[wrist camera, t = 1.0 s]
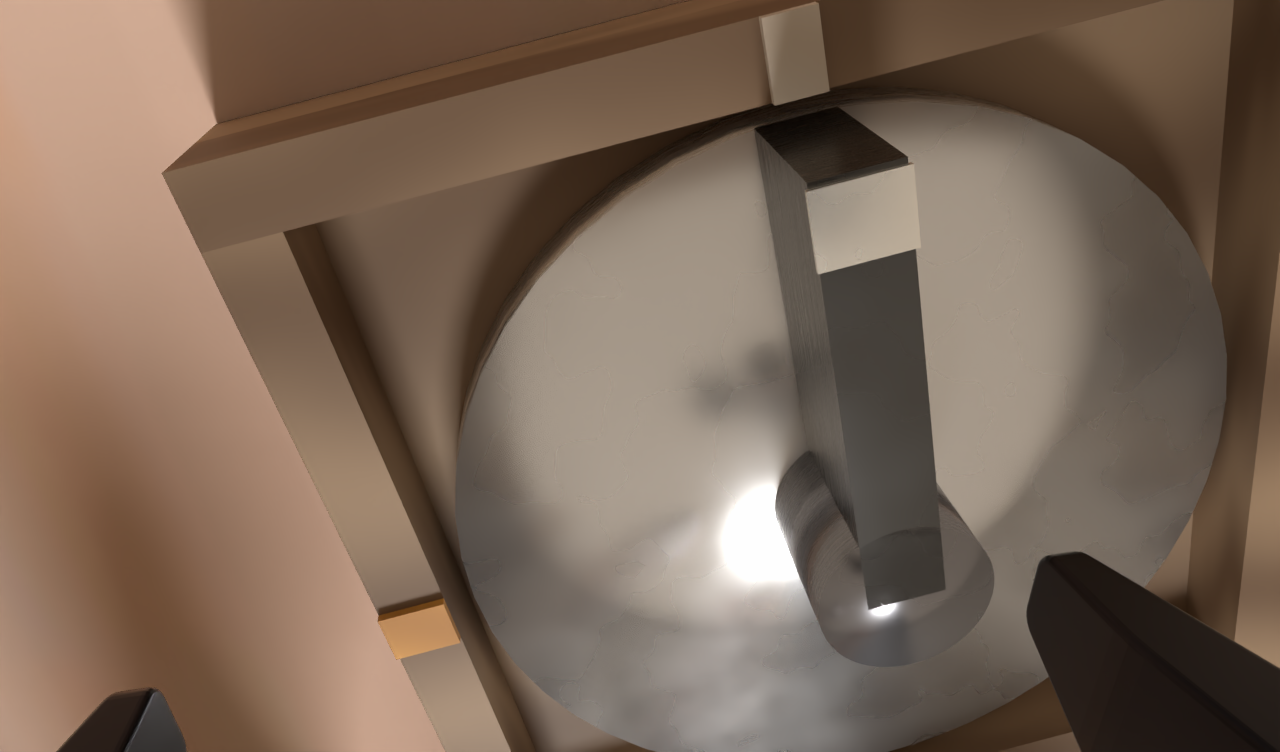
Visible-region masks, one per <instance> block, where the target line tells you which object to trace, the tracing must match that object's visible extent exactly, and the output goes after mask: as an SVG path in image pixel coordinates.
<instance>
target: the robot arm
mask: <svg viewBox="0 0 1280 752" xmlns="http://www.w3.org/2000/svg"><path fill="white" fill-rule="evenodd" d="M1026 618H1027V624H1028V628H1029V631H1030V634H1031V636H1032V639H1033V641H1034V643H1035V646H1036V648H1037V650H1038V653H1039V655H1040V657H1041V660H1042V662H1043V664H1044V667H1045V669H1046V671H1047V674H1048V676H1049V678H1050V681H1051V683H1052V685H1053V688H1054V690H1055V692H1056V695H1057V697H1058V699H1059V702H1060V704H1061V706H1062V709H1063V711H1064V713H1065V716H1066V718H1067V721H1068V723H1069V725H1070V728H1071V730H1072V732H1073V735H1074V737H1075V739H1076V742H1077V744H1078V746H1079V748H1080V750H1081V752H1280V668H1279V667H1277V666H1275V665H1274V664H1272V663H1270V662H1269V661H1267V660H1265V659H1264V658H1262V657H1260V656H1259V655H1257V654H1255V653H1253V652H1252V651H1250V650H1248V649H1247V648H1245V647H1243V646H1242V645H1240V644H1238V643H1237V642H1235V641H1233V640H1231V639H1230V638H1228V637H1226V636H1225V635H1223V634H1221V633H1220V632H1218V631H1216V630H1215V629H1213V628H1211V627H1210V626H1208V625H1206V624H1204V623H1203V622H1201V621H1199V620H1198V619H1196V618H1194V617H1193V616H1191V615H1189V614H1188V613H1186V612H1184V611H1183V610H1181V609H1179V608H1177V607H1176V606H1174V605H1172V604H1171V603H1169V602H1167V601H1166V600H1164V599H1162V598H1161V597H1159V596H1157V595H1155V594H1154V593H1152V592H1150V591H1149V590H1147V589H1145V588H1144V587H1142V586H1140V585H1139V584H1137V583H1135V582H1134V581H1132V580H1130V579H1128V578H1127V577H1125V576H1123V575H1122V574H1120V573H1118V572H1117V571H1115V570H1113V569H1112V568H1110V567H1108V566H1107V565H1105V564H1103V563H1101V562H1100V561H1098V560H1096V559H1095V558H1093V557H1091V556H1090V555H1088V554H1085V553H1083V552H1079V551H1071V552H1065V553H1058V554H1051V555H1047V556H1044V557H1043V558H1042V559H1041V560H1040V561H1039V563H1038V566H1037V570H1036V574H1035V578H1034V581H1033V585H1032V589H1031V593H1030V597H1029V601H1028V604H1027V610H1026ZM56 752H187V751H186V744H185V740H184V737H183V735H182V733H181V731H180V729H179V727H178V724H177V722H176V720H175V718H174V716H173V714H172V712H171V710H170V708H169V706H168V704H167V701H166V699H165V697H164V696H163V694H162V693H161V691H159V690H158V689H156V688H151V687H148V688H141V689H135V690H128V691H121V692H117V693H114V694H112V695H110V696H109V697H107V698H106V699H105V700H104V701H103V702H102V703H101V704H100V705H99V706H98V707H97V708H96V709H95V710H94V711H93V712H92V714H91V715H90V716H89V717H88V718H87V719H86V720H85V721H84V722H83V723H82V724H81V725H80V727H79V728H78V729H77V730H76V731H75V732H74V733H73V734H72V735H71V736H70V737H69V738H68V739H67V741H66V742H65V743H64V744H63V745H62V746H61V747H60V748H59V749H58V750H57V751H56Z"/></svg>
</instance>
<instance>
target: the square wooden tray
mask: <svg viewBox="0 0 1280 752" xmlns="http://www.w3.org/2000/svg"><path fill="white" fill-rule="evenodd" d="M874 87H903V88H915V89H927V90H939V91H948V92H952V93H957V94H961V95H965V96H969V97H974V98H978V99H982V100H986V101H991V102H995V103H999V104H1001V105H1004V106H1006V107H1009V108H1011V109H1013V110H1016V111H1018V112H1021V113H1023V114H1026V115H1028V116H1031V117H1033V118H1035V119H1038V120H1040V121H1043V122H1045V123H1047V124H1049V125H1052V126H1054V127H1056V128H1058V129H1060V130H1062V131H1064V132H1066V133H1069V134H1071V135H1073V136H1075V137H1077V138H1079V139H1081V140H1083V141H1084V142H1086V143H1088V144H1089V145H1091V146H1093V147H1094V148H1096V149H1097V150H1099V151H1101V152H1102V153H1104V154H1105V155H1107V156H1109V157H1110V158H1112V159H1114V160H1115V161H1117V162H1118V163H1120V164H1122V165H1123V166H1124V167H1126V168H1127V169H1128V170H1129V171H1130V172H1131V173H1132V174H1133V175H1135V176H1136V177H1137V178H1138V179H1139V180H1140V181H1141V182H1142V183H1144V184H1145V185H1146V186H1147V187H1148V188H1149V189H1150V190H1151V191H1153V192H1154V193H1155V194H1156V195H1157V196H1158V197H1159V198H1160V199H1161V200H1162V202H1163V203H1164V204H1165V206H1166V207H1167V208H1168V209H1169V211H1170V212H1171V213H1172V214H1173V216H1174V217H1175V218H1176V220H1177V221H1178V222H1179V223H1180V225H1181V226H1182V227H1183V229H1184V230H1185V231H1186V232H1187V234H1188V236H1189V238H1190V239H1191V241H1192V243H1193V245H1194V247H1195V249H1196V251H1197V253H1198V255H1199V257H1200V258H1201V260H1202V262H1203V264H1204V266H1205V268H1206V270H1207V272H1208V274H1209V278H1210V281H1211V284H1212V287H1213V290H1214V293H1215V296H1216V300H1217V303H1218V306H1219V309H1220V312H1221V317H1222V325H1223V332H1224V339H1225V346H1226V353H1227V379H1226V402H1225V408H1224V414H1223V420H1222V426H1221V432H1220V438H1219V443H1218V446H1217V449H1216V452H1215V456H1214V459H1213V462H1212V465H1211V469H1210V472H1209V475H1208V478H1207V482H1206V484H1205V486H1204V488H1203V490H1202V493H1201V495H1200V497H1199V499H1198V502H1197V504H1196V506H1195V508H1194V510H1193V513H1192V515H1191V517H1190V519H1189V521H1188V523H1187V525H1186V526H1185V528H1184V530H1183V531H1182V533H1181V535H1180V536H1179V538H1178V540H1177V541H1176V543H1175V545H1174V546H1173V548H1172V550H1171V552H1170V553H1169V555H1168V557H1167V558H1166V560H1165V561H1164V562H1163V564H1162V565H1161V566H1160V568H1159V569H1158V570H1157V572H1156V573H1155V574H1154V576H1153V577H1152V578H1151V580H1150V581H1149V582H1148V584H1147V585H1146V586H1145V589H1147V590H1149V591H1150V592H1152V593H1154V594H1155V595H1157V596H1159V597H1161V598H1162V599H1164V600H1166V601H1167V602H1169V603H1171V604H1172V605H1174V606H1176V607H1177V608H1179V609H1181V610H1183V611H1184V612H1186V613H1188V614H1189V615H1191V616H1193V617H1194V618H1196V619H1198V620H1199V621H1201V622H1203V623H1204V624H1206V625H1208V626H1210V627H1211V628H1213V629H1215V630H1216V631H1218V632H1220V633H1221V634H1223V635H1225V636H1226V637H1228V638H1230V639H1231V640H1233V641H1235V642H1237V643H1238V644H1240V645H1242V646H1243V647H1245V648H1247V649H1248V650H1250V651H1252V652H1253V653H1255V654H1257V655H1259V656H1260V657H1262V658H1264V659H1265V660H1267V661H1269V662H1270V663H1272V664H1274V665H1275V666H1277V667H1279V668H1280V0H689V1H685V2H681V3H677V4H674V5H670V6H666V7H662V8H658V9H654V10H651V11H647V12H643V13H639V14H635V15H632V16H628V17H624V18H620V19H616V20H613V21H609V22H605V23H601V24H597V25H593V26H590V27H586V28H582V29H578V30H574V31H571V32H567V33H563V34H559V35H555V36H551V37H548V38H544V39H540V40H536V41H532V42H529V43H525V44H521V45H517V46H513V47H510V48H506V49H502V50H498V51H494V52H490V53H487V54H483V55H479V56H475V57H471V58H468V59H464V60H460V61H456V62H452V63H449V64H445V65H441V66H437V67H433V68H429V69H426V70H422V71H418V72H414V73H410V74H407V75H403V76H399V77H395V78H391V79H388V80H384V81H380V82H376V83H372V84H368V85H365V86H361V87H357V88H353V89H349V90H346V91H342V92H338V93H334V94H330V95H327V96H323V97H319V98H315V99H311V100H307V101H304V102H300V103H296V104H292V105H288V106H285V107H281V108H277V109H273V110H269V111H265V112H262V113H258V114H254V115H250V116H246V117H243V118H239V119H235V120H231V121H227V122H224V123H220V124H216V125H215V126H214V127H213V128H212V129H210V130H209V131H208V132H207V133H206V134H205V135H204V136H203V137H202V138H200V139H199V140H198V141H197V142H196V143H195V144H194V145H193V146H192V147H190V148H189V149H188V150H187V151H186V152H185V153H184V154H183V155H182V156H180V157H179V158H178V159H177V160H176V161H175V162H174V163H173V164H171V165H170V166H169V167H168V168H167V169H166V170H165V171H164V172H163V173H162V175H163V177H164V179H165V181H166V183H167V185H168V187H169V189H170V191H171V193H172V195H173V197H174V199H175V201H176V203H177V205H178V207H179V209H180V211H181V213H182V215H183V217H184V220H185V222H186V224H187V226H188V228H189V230H190V232H191V234H192V236H193V238H194V240H195V242H196V244H197V246H198V248H199V250H200V252H201V254H202V256H203V258H204V260H205V262H206V264H207V266H208V268H209V270H210V273H211V275H212V277H213V279H214V281H215V283H216V285H217V287H218V289H219V291H220V293H221V295H222V297H223V299H224V301H225V303H226V305H227V307H228V309H229V311H230V313H231V315H232V317H233V319H234V321H235V323H236V326H237V328H238V330H239V332H240V334H241V336H242V338H243V340H244V342H245V344H246V346H247V348H248V350H249V352H250V354H251V356H252V358H253V360H254V362H255V364H256V366H257V368H258V370H259V372H260V374H261V376H262V379H263V381H264V383H265V385H266V387H267V389H268V391H269V393H270V395H271V397H272V399H273V401H274V403H275V405H276V407H277V409H278V411H279V413H280V415H281V417H282V419H283V421H284V423H285V425H286V427H287V429H288V432H289V434H290V436H291V438H292V440H293V442H294V444H295V446H296V448H297V450H298V452H299V454H300V456H301V458H302V460H303V462H304V464H305V466H306V468H307V470H308V472H309V474H310V476H311V478H312V480H313V482H314V485H315V487H316V489H317V491H318V493H319V495H320V497H321V499H322V501H323V503H324V505H325V507H326V509H327V511H328V513H329V515H330V517H331V519H332V521H333V523H334V525H335V527H336V529H337V531H338V533H339V535H340V538H341V540H342V542H343V544H344V546H345V548H346V550H347V552H348V554H349V556H350V558H351V560H352V562H353V564H354V566H355V568H356V570H357V572H358V574H359V576H360V578H361V580H362V582H363V584H364V586H365V588H366V591H367V593H368V595H369V597H370V599H371V601H372V603H373V605H374V607H375V609H376V611H377V613H378V615H379V617H378V623H379V625H380V627H381V629H382V631H383V633H384V635H385V637H386V639H387V642H388V644H389V646H390V648H391V650H392V652H393V654H394V656H395V658H396V660H397V659H400V660H401V662H402V664H403V666H404V668H405V670H406V672H407V674H408V676H409V678H410V680H411V682H412V684H413V686H414V688H415V690H416V692H417V694H418V696H419V699H420V701H421V703H422V705H423V707H424V709H425V711H426V713H427V715H428V717H429V719H430V721H431V723H432V725H433V727H434V729H435V731H436V733H437V735H438V737H439V739H440V741H441V743H442V745H443V747H444V749H445V752H656V751H652V750H648V749H645V748H642V747H640V746H637V745H635V744H632V743H630V742H627V741H625V740H622V739H620V738H617V737H615V736H613V735H610V734H608V733H606V732H604V731H602V730H601V729H599V728H597V727H595V726H593V725H592V724H590V723H588V722H586V721H584V720H583V719H581V718H579V717H577V716H575V715H574V714H573V713H571V712H570V711H568V710H567V709H566V708H564V707H563V706H562V705H560V704H559V703H558V702H556V701H555V700H554V699H552V698H551V697H550V696H548V695H547V694H546V693H544V692H543V691H542V690H541V689H540V688H539V687H538V686H537V685H536V684H535V683H534V682H533V681H532V680H531V679H530V678H529V677H528V676H527V675H526V674H525V673H524V672H523V671H522V670H521V669H520V668H519V667H518V666H517V665H516V664H515V662H514V661H513V660H512V658H511V657H510V656H509V654H508V653H507V652H506V650H505V649H504V648H503V646H502V645H501V643H500V642H499V641H498V639H497V638H496V637H495V635H494V634H493V633H492V631H491V629H490V627H489V625H488V623H487V621H486V619H485V617H484V615H483V613H482V611H481V609H480V607H479V605H478V604H477V602H476V600H475V598H474V595H473V592H472V589H471V586H470V583H469V579H468V576H467V573H466V570H465V567H464V564H463V561H462V557H461V551H460V544H459V537H458V531H457V524H456V517H455V501H456V464H457V451H458V438H459V431H460V425H461V420H462V414H463V408H464V402H465V397H466V391H467V388H468V385H469V382H470V379H471V376H472V373H473V370H474V367H475V364H476V361H477V358H478V355H479V352H480V349H481V346H482V344H483V342H484V340H485V338H486V336H487V334H488V332H489V330H490V328H491V326H492V324H493V322H494V320H495V318H496V316H497V314H498V312H499V310H500V308H501V306H502V304H503V302H504V300H505V299H506V297H507V296H508V295H509V293H510V292H511V290H512V289H513V287H514V286H515V284H516V283H517V282H518V280H519V279H520V277H521V276H522V274H523V273H524V271H525V270H526V269H527V267H528V266H529V264H530V263H531V261H532V260H533V258H534V257H535V256H536V255H537V254H538V252H539V251H540V250H541V249H542V248H543V247H544V246H545V245H546V244H547V243H548V241H549V240H550V239H551V238H552V237H553V236H554V235H555V234H556V233H557V232H558V231H559V229H560V228H561V227H562V226H563V225H564V224H565V223H566V222H567V221H568V220H569V218H570V217H571V216H572V215H573V214H574V213H576V212H577V211H578V210H579V209H580V208H582V207H583V206H584V205H585V204H586V203H587V202H589V201H590V200H591V199H592V198H593V197H595V196H596V195H597V194H598V193H599V192H600V191H602V190H603V189H604V188H605V187H606V186H608V185H609V184H610V183H611V182H612V181H613V180H615V179H616V178H617V177H619V176H620V175H622V174H623V173H625V172H626V171H628V170H629V169H631V168H633V167H634V166H636V165H637V164H639V163H640V162H642V161H643V160H645V159H646V158H648V157H649V156H651V155H653V154H654V153H656V152H657V151H659V150H660V149H662V148H663V147H665V146H667V145H669V144H671V143H673V142H675V141H677V140H679V139H681V138H683V137H685V136H687V135H689V134H691V133H694V132H696V131H698V130H700V129H702V128H704V127H706V126H708V125H710V124H712V123H714V122H716V121H718V120H721V119H724V118H727V117H730V116H733V115H736V114H739V113H742V112H745V111H748V110H751V109H754V108H757V107H760V106H764V105H768V104H771V103H772V104H773V105H775V106H776V105H780V104H784V103H788V102H791V101H795V100H799V99H803V98H807V97H810V96H814V95H818V94H822V93H826V92H829V91H830V90H839V89H856V88H874ZM889 752H1081V750H1080V748H1079V746H1078V744H1077V742H1076V739H1075V737H1074V735H1073V732H1072V730H1071V728H1070V725H1069V723H1068V721H1067V718H1066V716H1065V713H1064V711H1063V709H1062V706H1061V704H1060V702H1059V699H1058V697H1057V695H1056V692H1055V690H1054V688H1053V685H1052V683H1051V681H1050V678H1049V677H1048V678H1046V679H1045V680H1044V681H1042V682H1040V683H1039V684H1037V685H1036V686H1034V687H1032V688H1031V689H1029V690H1028V691H1026V692H1024V693H1023V694H1021V695H1020V696H1018V697H1016V698H1015V699H1013V700H1011V701H1010V702H1008V703H1007V704H1005V705H1003V706H1001V707H999V708H997V709H995V710H993V711H991V712H989V713H987V714H985V715H983V716H981V717H979V718H977V719H975V720H973V721H971V722H969V723H967V724H965V725H962V726H960V727H957V728H955V729H953V730H950V731H948V732H945V733H943V734H940V735H938V736H935V737H933V738H930V739H928V740H925V741H921V742H918V743H915V744H912V745H909V746H905V747H902V748H899V749H896V750H893V751H889Z"/></svg>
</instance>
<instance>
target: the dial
mask: <svg viewBox="0 0 1280 752" xmlns="http://www.w3.org/2000/svg"><path fill="white" fill-rule="evenodd" d="M1226 379H1227V353H1226V346H1225V339H1224V332H1223V325H1222V317H1221V312H1220V309H1219V306H1218V303H1217V300H1216V296H1215V293H1214V290H1213V287H1212V284H1211V281H1210V278H1209V274H1208V272H1207V270H1206V268H1205V266H1204V264H1203V262H1202V260H1201V258H1200V257H1199V255H1198V253H1197V251H1196V249H1195V247H1194V245H1193V243H1192V241H1191V239H1190V238H1189V236H1188V234H1187V232H1186V231H1185V230H1184V229H1183V227H1182V226H1181V225H1180V223H1179V222H1178V221H1177V220H1176V218H1175V217H1174V216H1173V214H1172V213H1171V212H1170V211H1169V209H1168V208H1167V207H1166V206H1165V204H1164V203H1163V202H1162V200H1161V199H1160V198H1159V197H1158V196H1157V195H1156V194H1155V193H1154V192H1153V191H1151V190H1150V189H1149V188H1148V187H1147V186H1146V185H1145V184H1144V183H1142V182H1141V181H1140V180H1139V179H1138V178H1137V177H1136V176H1135V175H1133V174H1132V173H1131V172H1130V171H1129V170H1128V169H1127V168H1126V167H1124V166H1123V165H1122V164H1120V163H1118V162H1117V161H1115V160H1114V159H1112V158H1110V157H1109V156H1107V155H1105V154H1104V153H1102V152H1101V151H1099V150H1097V149H1096V148H1094V147H1093V146H1091V145H1089V144H1088V143H1086V142H1084V141H1083V140H1081V139H1079V138H1077V137H1075V136H1073V135H1071V134H1069V133H1066V132H1064V131H1062V130H1060V129H1058V128H1056V127H1054V126H1052V125H1049V124H1047V123H1045V122H1043V121H1040V120H1038V119H1035V118H1033V117H1031V116H1028V115H1026V114H1023V113H1021V112H1018V111H1016V110H1013V109H1011V108H1009V107H1006V106H1004V105H1001V104H999V103H995V102H991V101H986V100H982V99H978V98H974V97H969V96H965V95H961V94H957V93H952V92H948V91H939V90H927V89H915V88H903V87H874V88H856V89H839V90H830V91H829V92H826V93H822V94H818V95H814V96H810V97H807V98H803V99H799V100H795V101H791V102H788V103H784V104H780V105H776V106H775V105H773V104H772V103H771V104H768V105H764V106H760V107H757V108H754V109H751V110H748V111H745V112H742V113H739V114H736V115H733V116H730V117H727V118H724V119H721V120H718V121H716V122H714V123H712V124H710V125H708V126H706V127H704V128H702V129H700V130H698V131H696V132H694V133H691V134H689V135H687V136H685V137H683V138H681V139H679V140H677V141H675V142H673V143H671V144H669V145H667V146H665V147H663V148H662V149H660V150H659V151H657V152H656V153H654V154H653V155H651V156H649V157H648V158H646V159H645V160H643V161H642V162H640V163H639V164H637V165H636V166H634V167H633V168H631V169H629V170H628V171H626V172H625V173H623V174H622V175H620V176H619V177H617V178H616V179H615V180H613V181H612V182H611V183H610V184H609V185H608V186H606V187H605V188H604V189H603V190H602V191H600V192H599V193H598V194H597V195H596V196H595V197H593V198H592V199H591V200H590V201H589V202H587V203H586V204H585V205H584V206H583V207H582V208H580V209H579V210H578V211H577V212H576V213H574V214H573V215H572V216H571V217H570V218H569V220H568V221H567V222H566V223H565V224H564V225H563V226H562V227H561V228H560V229H559V231H558V232H557V233H556V234H555V235H554V236H553V237H552V238H551V239H550V240H549V241H548V243H547V244H546V245H545V246H544V247H543V248H542V249H541V250H540V251H539V252H538V254H537V255H536V256H535V257H534V258H533V260H532V261H531V263H530V264H529V266H528V267H527V269H526V270H525V271H524V273H523V274H522V276H521V277H520V279H519V280H518V282H517V283H516V284H515V286H514V287H513V289H512V290H511V292H510V293H509V295H508V296H507V297H506V299H505V300H504V302H503V304H502V306H501V308H500V310H499V312H498V314H497V316H496V318H495V320H494V322H493V324H492V326H491V328H490V330H489V332H488V334H487V336H486V338H485V340H484V342H483V344H482V346H481V349H480V352H479V355H478V358H477V361H476V364H475V367H474V370H473V373H472V376H471V379H470V382H469V385H468V388H467V391H466V397H465V402H464V408H463V414H462V420H461V425H460V431H459V438H458V451H457V464H456V501H455V517H456V524H457V531H458V537H459V544H460V551H461V557H462V561H463V564H464V567H465V570H466V573H467V576H468V579H469V583H470V586H471V589H472V592H473V595H474V598H475V600H476V602H477V604H478V605H479V607H480V609H481V611H482V613H483V615H484V617H485V619H486V621H487V623H488V625H489V627H490V629H491V631H492V633H493V634H494V635H495V637H496V638H497V639H498V641H499V642H500V643H501V645H502V646H503V648H504V649H505V650H506V652H507V653H508V654H509V656H510V657H511V658H512V660H513V661H514V662H515V664H516V665H517V666H518V667H519V668H520V669H521V670H522V671H523V672H524V673H525V674H526V675H527V676H528V677H529V678H530V679H531V680H532V681H533V682H534V683H535V684H536V685H537V686H538V687H539V688H540V689H541V690H542V691H543V692H544V693H546V694H547V695H548V696H550V697H551V698H552V699H554V700H555V701H556V702H558V703H559V704H560V705H562V706H563V707H564V708H566V709H567V710H568V711H570V712H571V713H573V714H574V715H575V716H577V717H579V718H581V719H583V720H584V721H586V722H588V723H590V724H592V725H593V726H595V727H597V728H599V729H601V730H602V731H604V732H606V733H608V734H610V735H613V736H615V737H617V738H620V739H622V740H625V741H627V742H630V743H632V744H635V745H637V746H640V747H642V748H645V749H648V750H652V751H656V752H889V751H893V750H896V749H899V748H902V747H905V746H909V745H912V744H915V743H918V742H921V741H925V740H928V739H930V738H933V737H935V736H938V735H940V734H943V733H945V732H948V731H950V730H953V729H955V728H957V727H960V726H962V725H965V724H967V723H969V722H971V721H973V720H975V719H977V718H979V717H981V716H983V715H985V714H987V713H989V712H991V711H993V710H995V709H997V708H999V707H1001V706H1003V705H1005V704H1007V703H1008V702H1010V701H1011V700H1013V699H1015V698H1016V697H1018V696H1020V695H1021V694H1023V693H1024V692H1026V691H1028V690H1029V689H1031V688H1032V687H1034V686H1036V685H1037V684H1039V683H1040V682H1042V681H1044V680H1045V679H1046V678H1048V677H1049V676H1048V674H1047V671H1046V669H1045V667H1044V664H1043V662H1042V660H1041V657H1040V655H1039V653H1038V650H1037V648H1036V646H1035V643H1034V641H1033V639H1032V636H1031V634H1030V631H1029V628H1028V624H1027V618H1026V610H1027V604H1028V601H1029V597H1030V593H1031V589H1032V585H1033V581H1034V578H1035V574H1036V570H1037V566H1038V563H1039V561H1040V560H1041V559H1042V558H1043V557H1044V556H1047V555H1051V554H1058V553H1065V552H1071V551H1079V552H1083V553H1085V554H1088V555H1090V556H1091V557H1093V558H1095V559H1096V560H1098V561H1100V562H1101V563H1103V564H1105V565H1107V566H1108V567H1110V568H1112V569H1113V570H1115V571H1117V572H1118V573H1120V574H1122V575H1123V576H1125V577H1127V578H1128V579H1130V580H1132V581H1134V582H1135V583H1137V584H1139V585H1140V586H1142V587H1144V588H1145V586H1146V585H1147V584H1148V582H1149V581H1150V580H1151V578H1152V577H1153V576H1154V574H1155V573H1156V572H1157V570H1158V569H1159V568H1160V566H1161V565H1162V564H1163V562H1164V561H1165V560H1166V558H1167V557H1168V555H1169V553H1170V552H1171V550H1172V548H1173V546H1174V545H1175V543H1176V541H1177V540H1178V538H1179V536H1180V535H1181V533H1182V531H1183V530H1184V528H1185V526H1186V525H1187V523H1188V521H1189V519H1190V517H1191V515H1192V513H1193V510H1194V508H1195V506H1196V504H1197V502H1198V499H1199V497H1200V495H1201V493H1202V490H1203V488H1204V486H1205V484H1206V482H1207V478H1208V475H1209V472H1210V469H1211V465H1212V462H1213V459H1214V456H1215V452H1216V449H1217V446H1218V443H1219V438H1220V432H1221V426H1222V420H1223V414H1224V408H1225V402H1226Z"/></svg>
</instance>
